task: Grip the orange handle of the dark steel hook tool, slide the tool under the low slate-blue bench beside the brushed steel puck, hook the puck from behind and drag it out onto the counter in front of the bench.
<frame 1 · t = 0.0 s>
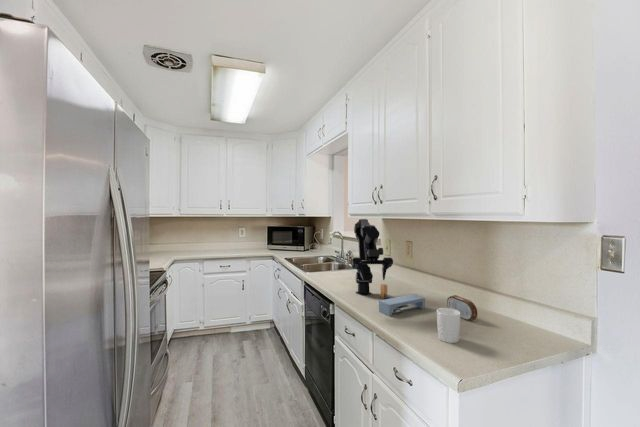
hand: (373, 279, 132), 15 cm above the worktop, tool tilted 35°, fingers open, 9 cm apart
bench: (402, 309, 136), on the worktop
tin: (461, 317, 127), on the worktop
puck: (395, 311, 134), on the worktop
white cup: (448, 339, 104), on the worktop
hook tool: (383, 297, 155), on the worktop
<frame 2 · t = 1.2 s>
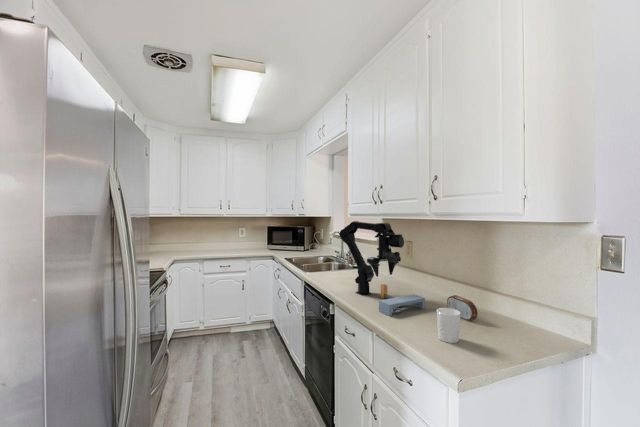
hand: (384, 275, 154), 12 cm above the worktop, tool pointing down, fingers open, 9 cm apart
nothing on the worktop moved.
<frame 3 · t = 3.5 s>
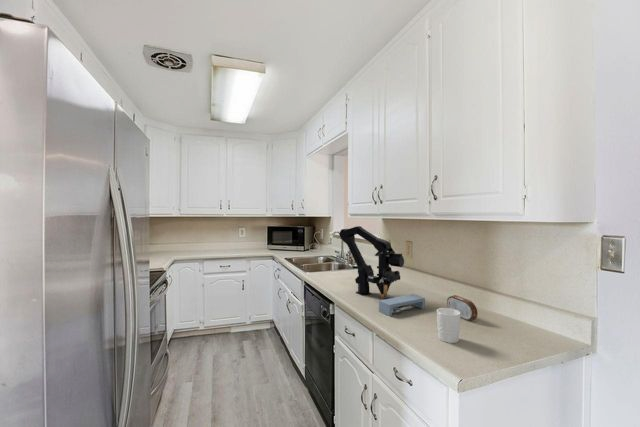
hand: (383, 293, 155), 2 cm above the worktop, tool pointing down, fingers closed on hook tool, 2 cm apart
hook tool: (383, 297, 155), on the worktop, touching gripper
everything else where it was.
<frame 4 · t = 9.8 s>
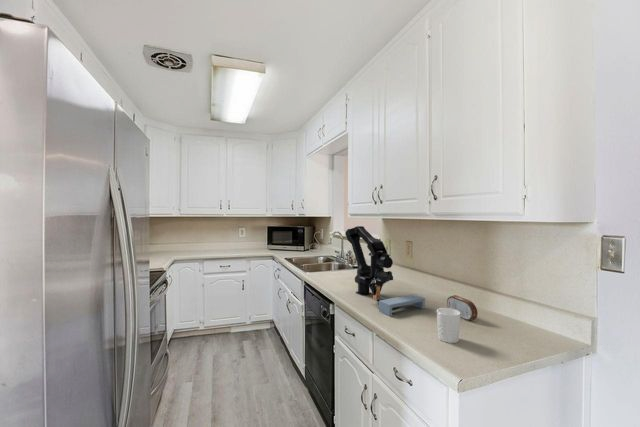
hand: (376, 294, 152), 2 cm above the worktop, tool pointing down, fingers closed on hook tool, 3 cm apart
puck: (386, 307, 140), on the worktop
hook tool: (376, 299, 151), on the worktop, touching gripper
everything else where it was.
when the fingers open (2 cm above the worktop, at t = 10.4 s): hook tool stays where it is, on the worktop.
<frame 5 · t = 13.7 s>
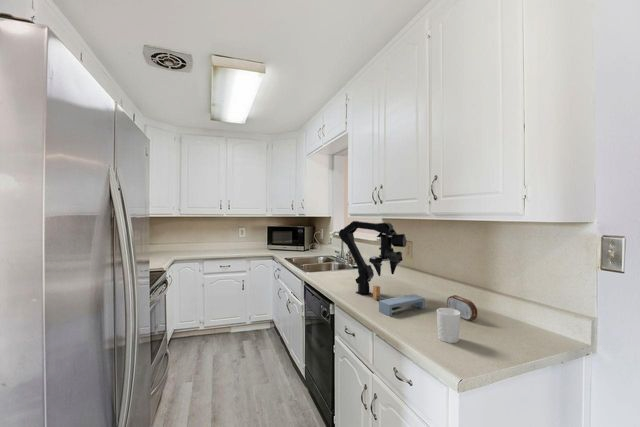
hand: (386, 275, 156), 12 cm above the worktop, tool pointing down, fingers open, 9 cm apart
hook tool: (376, 299, 151), on the worktop
everything else where it was.
at the end: puck inside the target area (4.1 cm from its centre), on the worktop; puck tilted 0°; puck moved 7.0 cm from its start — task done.
